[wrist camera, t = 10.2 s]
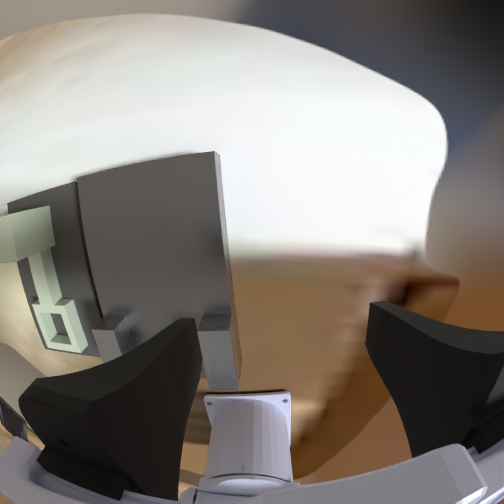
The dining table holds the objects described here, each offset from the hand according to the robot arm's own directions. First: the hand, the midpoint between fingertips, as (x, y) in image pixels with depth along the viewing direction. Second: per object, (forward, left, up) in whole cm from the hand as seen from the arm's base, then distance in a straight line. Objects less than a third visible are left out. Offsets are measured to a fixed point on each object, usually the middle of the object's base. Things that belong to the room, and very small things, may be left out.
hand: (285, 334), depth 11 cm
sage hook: (0, +20, -9) cm, 22 cm away
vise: (0, +8, -9) cm, 12 cm away
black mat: (0, +20, -9) cm, 22 cm away
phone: (-31, +53, -10) cm, 62 cm away
